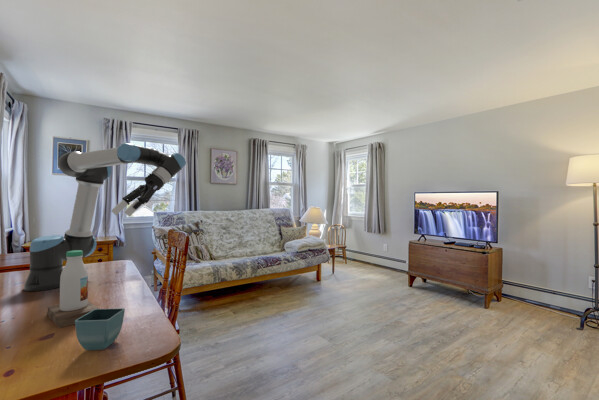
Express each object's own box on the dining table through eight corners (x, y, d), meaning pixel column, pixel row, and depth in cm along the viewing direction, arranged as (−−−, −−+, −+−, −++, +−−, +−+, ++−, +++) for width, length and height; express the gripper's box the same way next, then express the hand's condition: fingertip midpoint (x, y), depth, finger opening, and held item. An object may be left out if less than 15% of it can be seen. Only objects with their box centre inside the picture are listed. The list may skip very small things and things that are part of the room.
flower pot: (94, 338, 84) (94, 308, 84) (125, 337, 84) (125, 307, 85) (72, 354, 75) (73, 320, 75) (107, 353, 76) (108, 320, 76)
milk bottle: (72, 313, 95) (72, 253, 95) (53, 311, 97) (54, 252, 97) (93, 304, 103) (93, 249, 103) (75, 303, 104) (76, 248, 104)
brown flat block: (47, 315, 100) (47, 306, 100) (84, 306, 109) (85, 298, 109) (59, 328, 90) (59, 318, 90) (99, 317, 99) (99, 308, 99)
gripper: (177, 184, 121) (140, 221, 109) (150, 186, 136) (115, 218, 124) (165, 170, 117) (125, 207, 105) (139, 174, 132) (101, 206, 120)
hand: (119, 213), depth 115 cm, fingers open, 13 cm apart
